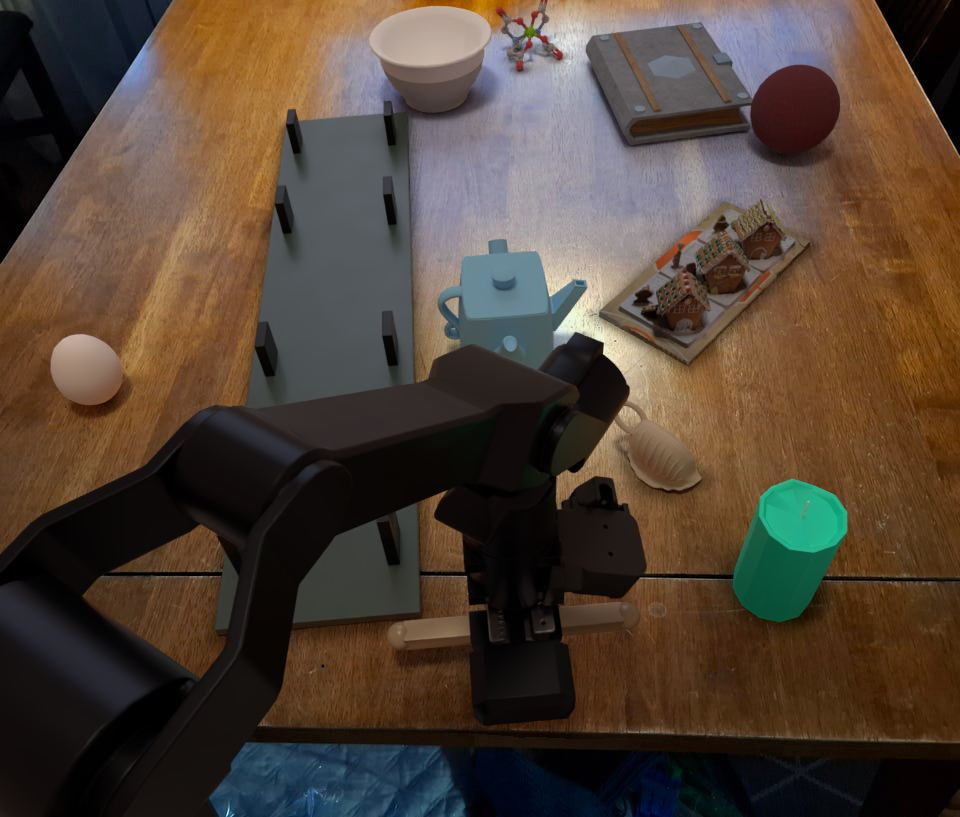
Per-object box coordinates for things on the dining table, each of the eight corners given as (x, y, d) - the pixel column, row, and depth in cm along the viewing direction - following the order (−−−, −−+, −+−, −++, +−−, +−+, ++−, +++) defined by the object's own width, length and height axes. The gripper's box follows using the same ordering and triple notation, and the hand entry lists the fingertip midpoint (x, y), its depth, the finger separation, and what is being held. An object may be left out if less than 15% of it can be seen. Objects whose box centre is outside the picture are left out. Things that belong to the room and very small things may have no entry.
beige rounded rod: (641, 633, 62) (643, 621, 61) (388, 655, 62) (384, 644, 61) (636, 608, 64) (638, 595, 62) (388, 630, 64) (384, 618, 62)
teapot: (440, 293, 90) (432, 216, 83) (572, 283, 90) (575, 205, 83) (446, 425, 79) (437, 349, 71) (597, 413, 79) (603, 336, 71)
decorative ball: (839, 137, 105) (863, 60, 97) (810, 180, 100) (833, 102, 92) (761, 116, 109) (778, 40, 101) (730, 156, 104) (745, 79, 96)
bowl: (354, 101, 116) (343, 40, 110) (434, 54, 123) (429, -6, 117) (437, 141, 109) (431, 79, 102) (518, 89, 116) (517, 27, 110)
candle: (827, 598, 66) (874, 513, 57) (768, 636, 64) (807, 555, 55) (773, 541, 69) (809, 452, 60) (715, 575, 68) (744, 490, 58)
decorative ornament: (670, 506, 72) (678, 469, 68) (602, 446, 76) (605, 408, 72) (703, 480, 74) (713, 443, 69) (634, 423, 78) (640, 384, 74)
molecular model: (493, 51, 123) (491, -1, 117) (542, 37, 125) (542, -15, 119) (515, 73, 119) (514, 20, 113) (566, 58, 121) (567, 5, 115)
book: (585, 65, 119) (586, 30, 115) (699, 50, 120) (705, 15, 116) (622, 148, 106) (625, 112, 102) (751, 131, 107) (759, 95, 103)
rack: (421, 617, 67) (410, 570, 61) (217, 635, 67) (187, 590, 61) (407, 118, 113) (400, 64, 107) (287, 128, 113) (274, 75, 107)
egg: (103, 427, 81) (70, 373, 75) (57, 407, 83) (20, 353, 77) (146, 383, 84) (117, 329, 78) (100, 365, 86) (68, 310, 80)
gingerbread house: (598, 317, 87) (601, 268, 82) (723, 207, 97) (733, 157, 92) (688, 366, 82) (697, 317, 77) (810, 245, 92) (825, 194, 87)
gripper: (675, 653, 45) (646, 751, 57) (615, 389, 57) (601, 516, 69) (465, 671, 45) (480, 765, 57) (449, 404, 57) (464, 528, 69)
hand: (513, 632), depth 63 cm, fingers closed on beige rounded rod, 2 cm apart
